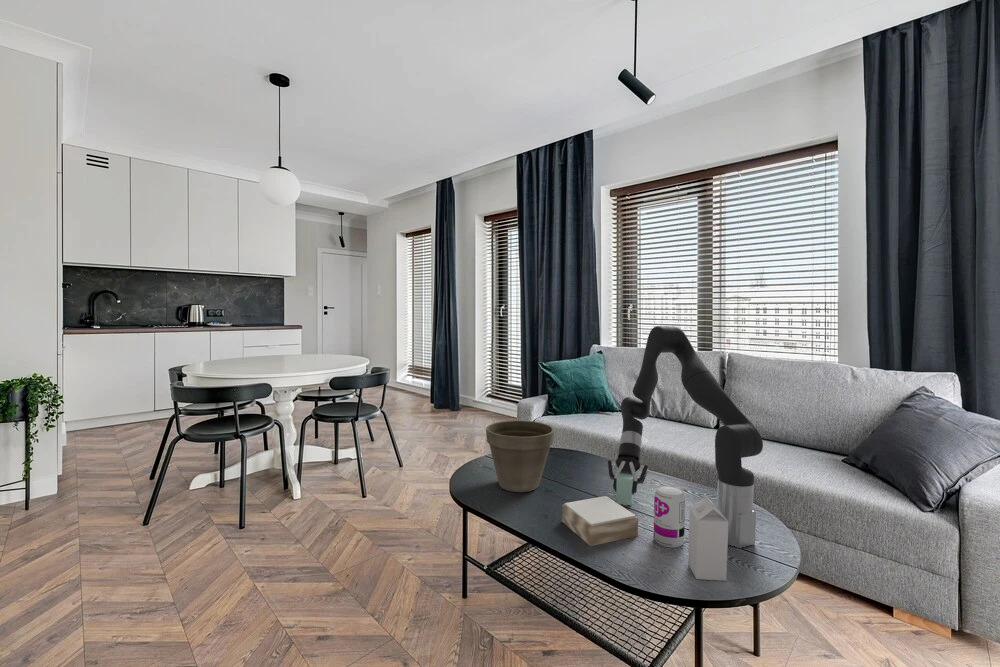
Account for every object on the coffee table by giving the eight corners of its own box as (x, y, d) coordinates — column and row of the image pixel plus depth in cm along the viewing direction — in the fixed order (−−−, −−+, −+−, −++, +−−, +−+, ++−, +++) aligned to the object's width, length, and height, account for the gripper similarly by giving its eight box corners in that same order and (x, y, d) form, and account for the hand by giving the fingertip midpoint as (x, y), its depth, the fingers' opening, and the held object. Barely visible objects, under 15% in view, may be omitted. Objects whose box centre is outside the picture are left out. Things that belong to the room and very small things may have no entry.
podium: (637, 535, 140) (638, 515, 139) (590, 546, 134) (590, 525, 133) (606, 513, 154) (606, 495, 154) (562, 521, 149) (562, 502, 148)
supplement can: (665, 550, 131) (666, 497, 130) (647, 536, 139) (648, 486, 138) (690, 546, 134) (691, 494, 133) (671, 533, 141) (673, 483, 140)
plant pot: (534, 469, 194) (535, 416, 193) (566, 492, 172) (566, 432, 170) (476, 478, 185) (476, 422, 183) (501, 503, 162) (501, 440, 161)
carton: (633, 500, 164) (634, 474, 164) (631, 506, 160) (632, 479, 159) (618, 498, 166) (619, 472, 166) (616, 503, 162) (616, 477, 161)
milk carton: (716, 565, 124) (718, 493, 123) (726, 581, 117) (729, 505, 116) (687, 564, 125) (689, 492, 123) (696, 580, 118) (698, 504, 116)
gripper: (608, 439, 172) (601, 484, 161) (650, 444, 166) (645, 490, 156) (611, 449, 177) (604, 493, 167) (651, 454, 171) (647, 500, 161)
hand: (624, 492), depth 161 cm, fingers closed on carton, 5 cm apart
